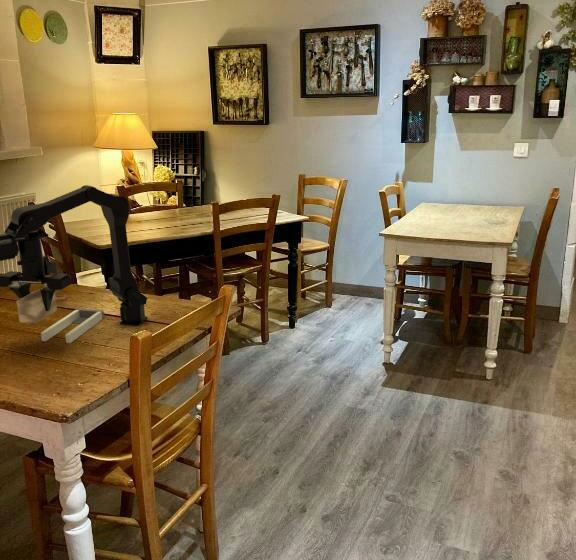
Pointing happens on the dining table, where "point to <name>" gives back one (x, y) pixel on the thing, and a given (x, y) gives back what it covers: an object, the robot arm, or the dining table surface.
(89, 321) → the channel
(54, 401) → the dining table surface
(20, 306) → the birch block
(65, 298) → the gingerbread man figurine
